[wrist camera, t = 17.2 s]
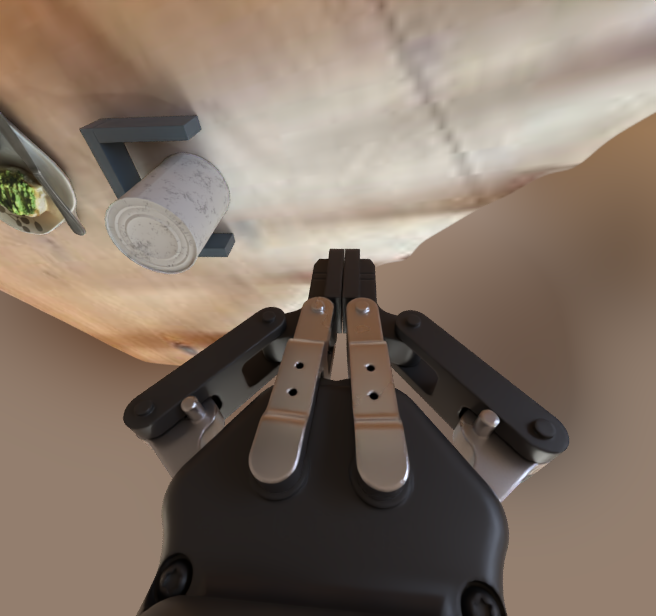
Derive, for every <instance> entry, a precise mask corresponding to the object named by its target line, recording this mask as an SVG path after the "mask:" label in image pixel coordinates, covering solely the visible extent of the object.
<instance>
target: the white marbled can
mask: <svg viewBox="0 0 656 616" xmlns="http://www.w3.org/2000/svg"><path fill="white" fill-rule="evenodd" d="M229 204H230V192H229V188H228V185H227V183H226V181H225V179H224V177H223V176H222V175H221V173H220V172H219V171H218V170H217V169H216V168H215V167H214V166H213V165H212V164H211V163H209V162H208V161H206V160H205V159H203V158H201V157H199V156H197V155H194V154H189V153H176V154H173V155H170V156H169V157H167V158H166V159H164V161H163V162H162V163H161V164H160V165H159V166H157V167H156V168H155V169H154V170H153V171H151V172H150V173H149V174H148V175H147V176H145V177H144V178H143V179H142V180H141V181H140V182H138V183H137V184H136V185H135V186H134V187H132V188H131V189H130V190H129V191H128V192H126V193H125V194H124V195H123V196H122V197H120V198H119V199H117V200H116V201H114V202H113V203H112V204H110V206H109V207H108V209H107V210H106V214H105V226H106V229H107V232H108V235H109V237H110V238H111V240H112V241H113V243H114V244H115V245H116V247H117V248H118V249H119V250H120V251H121V252H122V253H123V254H124V255H125V256H127V257H128V258H129V259H130V260H132V261H133V262H135V263H136V264H138V265H140V266H142V267H144V268H146V269H149V270H151V271H154V272H158V273H164V274H177V273H182V272H184V271H186V270H188V269H190V268H191V267H192V266H193V265H194V263H195V261H196V259H197V257H198V255H199V254H200V252H201V251H202V249H203V247H204V246H205V244H206V243H207V241H208V239H209V238H210V236H211V235H212V233H213V231H214V230H215V228H216V226H217V225H218V223H219V222H220V220H221V218H222V217H223V215H224V214H225V213H226V212H227V210H228V208H229Z"/></svg>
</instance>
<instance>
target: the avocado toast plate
mask: <svg viewBox="0 0 656 616" xmlns="http://www.w3.org/2000/svg"><path fill="white" fill-rule="evenodd" d="M76 204H77V199H76V196H75V193H74V190H73V188H72V185H71V181H70V180H69V178H68V177H67V176H66V174H65V173H64V172H63V171H62V170H61V168H60V167H59V166H58V165H57V164H56V163H55V162H54V161H53V160H52V159H51V158H50V157H48V156H47V155H46V154H45V153H44V152H43V151H42V150H41V149H39V148H38V147H37V146H36V145H35V144H34V143H33V142H32V141H31V140H30V139H28V138H27V137H26V136H25V135H24V134H23V133H22V132H21V131H20V130H19V129H18V128H17V127H16V126H15V125H14V124H13V123H11V122H10V121H9V120H8V119H7V118H6V117H5V116H4V115H3V114H2V112H1V111H0V220H1V221H3V222H5V223H6V224H8V225H9V226H11V227H13V228H15V229H17V230H20V231H22V232H26V233H31V234H38V235H46V234H48V233H50V232H51V231H52V230H54V229H56V228H57V227H59V225H61V223H63V222H67V223H68V225H69V226H70V228H71V229H72V230H73V232H74V233H76V234H78V235H84V234H86V230H85V228H84V227H83V225H82V223H81V222H80V220H79V219H78V217H77V214H76Z"/></svg>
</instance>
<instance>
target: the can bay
mask: <svg viewBox="0 0 656 616" xmlns="http://www.w3.org/2000/svg"><path fill="white" fill-rule="evenodd" d="M200 130H201V126H200V123H199V120H198V116H197V115H195V116H166V117H137V118H112V119H111V118H108V119H99V120H97V121H95V122H93V123H90V124H88V125H86V126H84V127H82V128H80V131H81V133H82V135H83V137H84V139H85V140H86V142H87V144H88V146H89V148H90V149H91V151H92V153H93V155H94V157H95V158H96V160H97V162H98V164H99V166H100V168H101V169H102V171H103V173H104V175H105V177H106V178H107V180H108V182H109V184H110V186H111V188H112V189H113V191H114V193H115V195H116V197H117V198H118V199H119V198H120V197H122V196H123V195H124V194H125V193H126V192H128V191H129V190H130V189H131V188H132V187H134V186H135V185H136V184H137V183H138V182H140V181H141V179H140V177H139V175H138V173H137V170H136V168H135V166H134V164H133V162H132V160H131V158H130V156H129V154H128V151H127V149H126V147H125V145H124V143H123V142H151V141H187V140H189V139H191V138H192V137H193V136H194V135H195V134H197V133H198V132H199V131H200ZM234 243H235V239H234V236H233V233H212V235H211V236H210V238H209V239H208V241H207V243H206V244H205V246H204V247H203V249H202V251H201V252H200V254H199V255H198V257H228V255H229V253H230V251H231V249H232V247H233V245H234Z"/></svg>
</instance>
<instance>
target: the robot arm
mask: <svg viewBox="0 0 656 616" xmlns="http://www.w3.org/2000/svg"><path fill="white" fill-rule="evenodd" d="M342 318H343V333H347V364H348V379H344V380H340V381H333V380H330V377H331V371H332V365H333V359H334V353H335V343H336V340H337V333H342ZM391 367H392V368H393V369H394V370H395V371H396V372H397V373H398V374H399V375H400V376H401V377H402V378H403V379H404V380H405V381H406V382H407V383H408V384H409V385H410V386H411V387H412V388H413V389H414V390H415V391H416V392H417V393H418V394H419V395H420V396H421V397H422V398H423V399H424V400H425V401H426V402H427V403H428V404H429V405H430V406H431V407H432V408H433V409H434V410H435V411H436V412H437V413H438V414H439V415H440V416H441V417H442V418H443V419H444V420H445V421H446V422H447V423H448V424H449V426H451V428H453V430H454V433H453V441H454V444H455V446H456V448H457V449H458V450H457V449H456V448H455V447H454V446H453V445H452V444H451V443H450V442H449V440H447V438H446V437H445V436H444V435H443V434H442V433H441V431H440V430H439V429H438V428H437V427H436V426H435V425H434V424H433V423H432V421H431V420H430V419H429V418H428V417H427V416H426V415H425V414H424V413H423V411H422V410H421V409H420V408H419V407H418V406H417V405H416V404H415V403H414V402H413V400H411V398H409V397H408V396H407V395H406V394H404V393H403V392H401V391H400V390H398V389H396V388H394V381H393V375H392V370H391ZM276 375H277V377H276V380H275V383H274V385H273V386H271V387H269V388H267V389H266V390H265V391H263V392H262V393H261V394H260V395H259V396H258V397H256V398H255V400H253V401H252V402H251V403H250V404H249V405H248V406H247V407H246V408H245V409H244V410H243V411H241V412H240V413H239V414H238V415H237V416H236V417H235V418H234V419H233V420H232V421H231V422H230V423H228V424H227V425H226V426H225V427H224V425H225V419H226V418H227V417H228V416H230V415H231V414H232V413H233V412H234V411H235V410H237V409H238V408H239V407H240V406H241V405H242V404H243V403H245V402H246V401H247V400H248V399H249V398H250V397H252V396H253V395H254V394H255V393H256V392H257V391H259V390H260V389H261V388H262V387H263V386H264V385H266V384H267V383H268V382H269V381H270V380H271V379H272V378H274V377H275V376H276ZM123 420H124V423H125V424H126V425H127V426H128V427H129V428H130V429H131V430H132V431H133V432H135V433H136V435H137V437H138V438H139V439H141V440H142V441H143V442H144V443H145V444H146V445H148V446H149V447H150V448H151V449H152V450H154V451H155V453H156V455H157V456H158V457H159V459H160V460H161V462H162V463H163V465H164V466H165V468H166V469H167V471H168V472H169V474H170V475H171V477H172V478H173V479H172V481H171V482H170V485H169V486H168V489H167V491H166V493H165V497H164V501H163V505H162V525H163V545H162V553H161V559H160V564H159V568H158V571H157V574H156V576H155V578H154V581H153V583H152V585H151V587H150V589H149V591H148V593H147V595H146V597H145V600H144V601H143V603H142V605H141V607H140V609H139V611H138V613H137V615H136V616H507V613H506V608H505V604H504V597H503V567H504V560H505V556H506V552H507V548H508V541H509V530H508V523H507V519H506V515H505V512H504V509H503V507H502V505H501V502H502V501H503V500H504V499H505V498H506V497H507V496H508V495H509V494H510V492H512V491H513V490H514V489H515V488H516V486H517V485H518V484H519V483H522V482H524V481H526V480H527V479H528V478H530V477H531V476H532V475H534V474H535V473H536V472H537V471H539V470H540V469H541V468H543V467H544V466H545V465H546V464H548V463H549V462H550V461H551V460H553V459H554V458H556V457H557V456H558V455H559V454H561V453H562V452H563V451H565V450H566V449H567V447H568V445H569V436H568V433H567V430H566V429H565V427H564V426H563V424H562V423H561V422H560V421H559V420H558V419H557V418H556V417H554V416H553V415H552V414H550V413H549V412H548V411H547V410H545V409H544V408H543V407H541V406H540V405H539V404H538V403H536V402H535V401H534V400H532V399H531V398H530V397H529V396H527V395H526V394H525V393H524V392H522V391H521V390H520V389H519V388H517V387H516V386H514V385H513V384H512V383H511V382H509V381H508V380H507V379H506V378H504V377H503V376H502V375H501V374H499V373H498V372H497V371H495V370H494V369H493V368H492V367H490V366H489V365H488V364H487V363H485V362H484V361H482V360H481V359H480V358H479V357H477V356H476V355H475V354H474V353H473V352H471V351H470V350H468V349H467V348H466V347H465V346H464V345H462V344H461V343H460V342H458V341H457V340H456V339H455V338H453V337H452V336H451V335H449V334H448V333H447V332H446V331H444V330H443V329H442V328H441V327H439V326H438V325H437V324H436V323H434V322H433V321H432V320H430V319H429V318H428V317H426V316H425V315H424V314H422V313H420V312H418V311H412V310H408V311H404V312H401V313H400V314H399V315H398V316H397V315H393V314H390V313H387V312H385V311H383V310H382V309H381V308H380V307H379V306H378V304H377V298H376V281H375V265H374V264H373V262H372V261H371V260H370V259H360V249H345V262H344V249H330V251H329V259H319V260H318V261H317V262H316V264H315V265H314V268H313V274H312V280H311V286H310V291H309V297H308V300H307V301H306V302H305V303H304V304H303V307H302V308H301V309H299V310H297V311H294V312H290V313H286V314H284V312H283V311H282V310H281V309H279V308H276V307H268V308H264V309H262V310H260V311H258V312H257V313H255V314H254V315H253V316H251V317H250V318H248V319H247V320H245V321H244V322H243V323H241V324H240V325H238V326H237V327H235V328H234V329H233V330H231V331H230V332H228V333H227V334H225V335H224V336H223V337H221V338H220V339H218V340H217V341H215V342H214V343H213V344H211V345H210V346H208V347H207V348H206V349H204V350H203V351H201V352H200V353H198V354H197V355H196V356H194V357H193V358H191V359H190V360H188V361H187V362H186V363H184V364H183V365H181V366H180V367H179V368H177V369H176V370H174V371H173V372H171V373H170V374H168V375H167V376H166V377H164V378H163V379H161V380H160V381H158V382H157V383H156V384H154V385H153V386H151V387H150V388H148V389H147V390H146V391H144V392H143V393H141V394H140V395H138V396H137V397H136V398H135V399H133V400H132V401H131V402H130V404H128V406H127V407H126V409H125V412H124V416H123ZM459 452H460V453H461V454H460V453H459Z"/></svg>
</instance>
